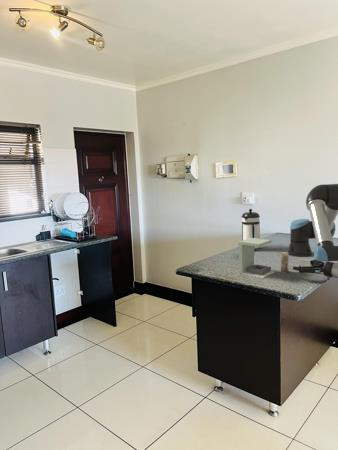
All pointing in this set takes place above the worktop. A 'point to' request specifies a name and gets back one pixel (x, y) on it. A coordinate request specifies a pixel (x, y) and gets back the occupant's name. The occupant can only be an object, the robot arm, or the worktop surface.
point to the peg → (284, 262)
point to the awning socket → (252, 258)
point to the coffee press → (250, 226)
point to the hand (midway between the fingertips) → (293, 263)
